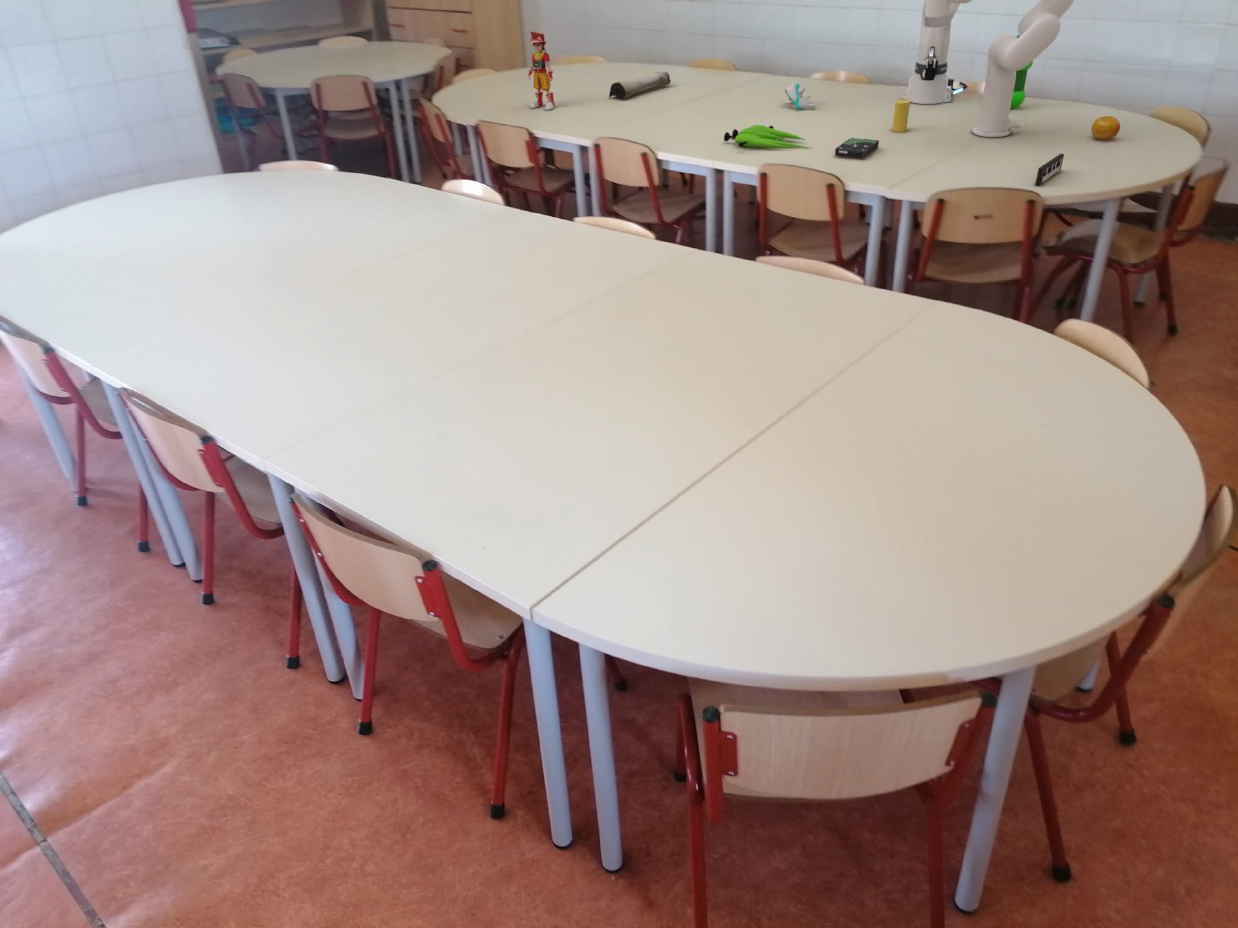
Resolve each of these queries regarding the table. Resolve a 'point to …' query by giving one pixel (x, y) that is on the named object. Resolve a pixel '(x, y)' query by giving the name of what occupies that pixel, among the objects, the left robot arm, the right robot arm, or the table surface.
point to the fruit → (1105, 127)
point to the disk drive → (856, 148)
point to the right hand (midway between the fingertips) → (930, 76)
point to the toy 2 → (761, 137)
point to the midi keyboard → (1049, 169)
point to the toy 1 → (541, 71)
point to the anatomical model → (798, 96)
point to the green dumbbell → (1019, 86)
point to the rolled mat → (638, 84)
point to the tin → (901, 115)
